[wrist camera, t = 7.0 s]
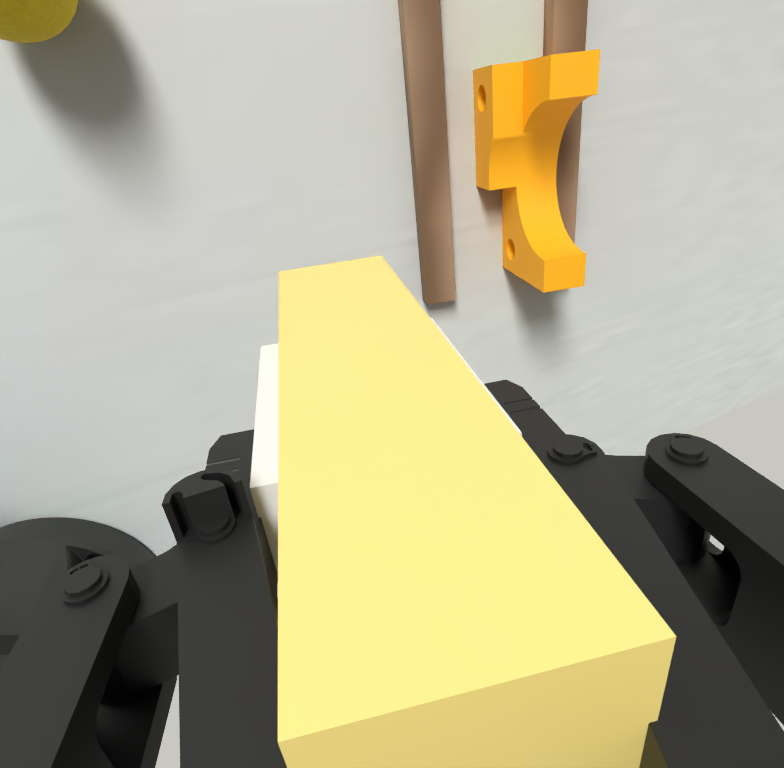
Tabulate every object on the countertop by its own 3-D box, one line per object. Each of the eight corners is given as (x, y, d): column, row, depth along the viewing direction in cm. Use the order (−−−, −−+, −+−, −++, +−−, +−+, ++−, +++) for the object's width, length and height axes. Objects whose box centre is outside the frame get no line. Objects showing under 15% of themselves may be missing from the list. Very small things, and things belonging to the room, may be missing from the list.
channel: (422, 299, 36) (427, 304, 35) (383, -177, 25) (388, -189, 24) (563, 275, 37) (572, 280, 36) (586, -187, 26) (599, -200, 25)
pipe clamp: (472, 70, 31) (516, 58, 25) (541, 62, 31) (600, 49, 26) (478, 270, 36) (515, 297, 31) (536, 260, 37) (584, 285, 31)
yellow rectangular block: (306, 401, 20) (361, 966, 6) (278, 271, 17) (276, 742, 4) (396, 384, 20) (621, 881, 7) (381, 255, 18) (676, 636, 5)
